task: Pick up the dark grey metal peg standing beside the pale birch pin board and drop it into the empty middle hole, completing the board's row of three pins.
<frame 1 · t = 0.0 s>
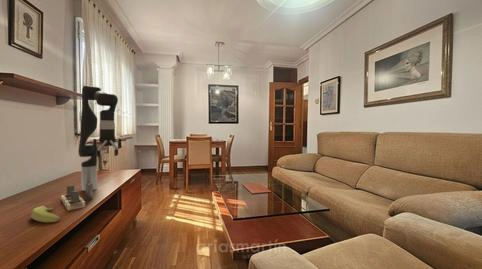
hand: (107, 156, 126), 29 cm above the tv stand, tool pointing down, fingers open, 8 cm apart
peg: (89, 199, 138), on the tv stand
banana: (48, 217, 112), on the tv stand
pin board: (72, 203, 131), on the tv stand
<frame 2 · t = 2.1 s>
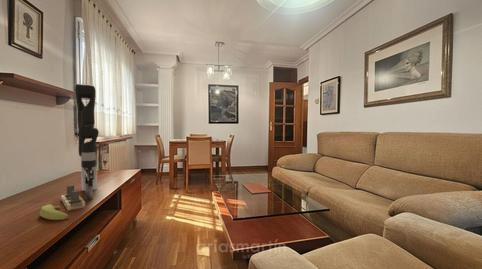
hand: (88, 185, 137), 9 cm above the tv stand, tool pointing down, fingers open, 8 cm apart
banana: (56, 215, 115), on the tv stand
everything else where it was.
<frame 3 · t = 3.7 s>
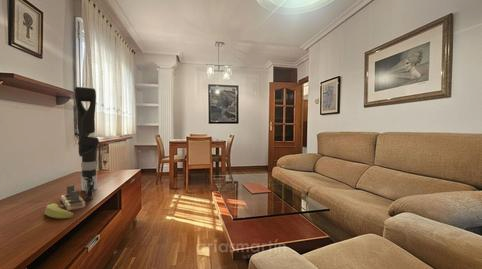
hand: (89, 195, 138), 3 cm above the tv stand, tool pointing down, fingers closed on peg, 3 cm apart
peg: (89, 199, 138), on the tv stand, touching gripper
banana: (61, 213, 117), on the tv stand, touching pin board
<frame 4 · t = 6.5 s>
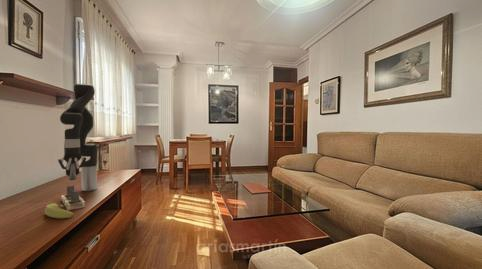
hand: (72, 175, 130), 17 cm above the tv stand, tool pointing down, fingers closed on peg, 3 cm apart
peg: (72, 179, 130), point 14 cm above the tv stand, touching gripper
banana: (60, 213, 117), on the tv stand
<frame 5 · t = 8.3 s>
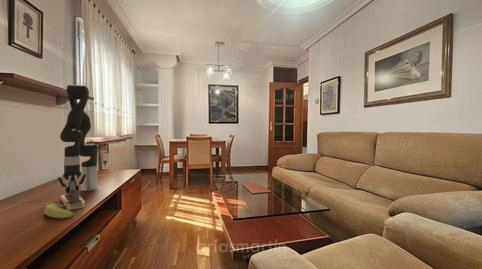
hand: (72, 192, 130), 7 cm above the tv stand, tool pointing down, fingers closed on peg, 3 cm apart
peg: (72, 196, 130), point 4 cm above the tv stand, touching gripper
everything else where it was.
when the fingers open (4 cm above the tv stand, at t = 9.6 s): peg drops 1 cm, resting in pin board.
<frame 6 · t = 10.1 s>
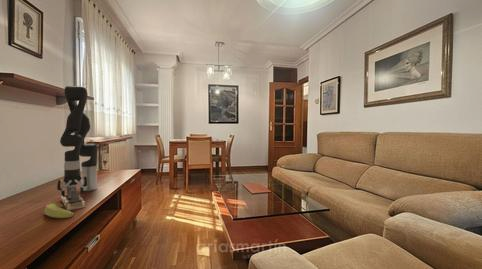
hand: (72, 195, 131), 5 cm above the tv stand, tool pointing down, fingers open, 8 cm apart
peg: (72, 203, 131), resting in pin board
everything else where it was.
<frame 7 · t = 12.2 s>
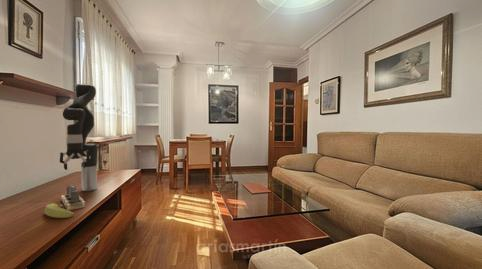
hand: (75, 168, 131), 21 cm above the tv stand, tool pointing down, fingers open, 8 cm apart
banana: (60, 213, 117), on the tv stand, touching pin board
everything else where it was.
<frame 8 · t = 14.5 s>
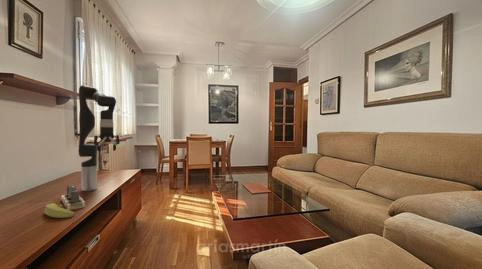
hand: (107, 151, 143), 30 cm above the tv stand, tool pointing down, fingers open, 8 cm apart
banana: (60, 213, 117), on the tv stand
everything else where it was.
at the end: peg 0.1 cm off-centre on the pin board, point 0.0 cm above the pin board's base; peg tilted 0°; the gripper is holding nothing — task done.
